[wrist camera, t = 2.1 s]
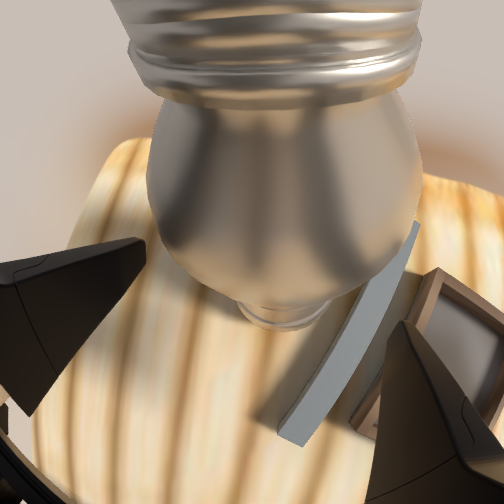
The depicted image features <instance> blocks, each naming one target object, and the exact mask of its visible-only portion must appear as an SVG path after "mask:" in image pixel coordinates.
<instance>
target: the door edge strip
mask: <svg viewBox="0 0 504 504" xmlns="http://www.w3.org/2000/svg"><path fill="white" fill-rule="evenodd" d="M419 227H420V223H418V222H416V221H415V220H414V222H413V225H412V228H411V232H410V234H409V236H408V237H407V239H406V241H405V242H404V244H403V246H402V248H401V249H400V251H399V253H398V254H397V255H396V256H395V257H394V258H393V260H392V261H391V262H390V263H389V264H388V265H387V266H386V267H385V268H384V269H383V270H382V271H381V272H380V273H379V274H378V275H376V276H375V277H373V278H372V279H370V280H369V281H367V282H365V283H364V284H363V286H362V288H361V290H360V292H359V294H358V296H357V298H356V300H355V302H354V304H353V306H352V308H351V310H350V312H349V314H348V316H347V317H346V319H345V321H344V323H343V325H342V327H341V328H340V330H339V332H338V334H337V336H336V337H335V339H334V341H333V343H332V344H331V346H330V348H329V349H328V351H327V353H326V354H325V356H324V358H323V359H322V361H321V363H320V364H319V366H318V368H317V369H316V371H315V372H314V374H313V376H312V377H311V379H310V380H309V382H308V383H307V385H306V386H305V388H304V389H303V391H302V392H301V394H300V395H299V397H298V398H297V400H296V401H295V403H294V404H293V406H292V407H291V409H290V410H289V411H288V413H287V414H286V416H285V417H284V418H283V420H282V421H281V423H280V424H279V425H278V430H277V435H279V436H281V437H283V438H284V439H286V440H288V441H290V442H292V443H294V444H296V445H299V446H301V447H303V446H304V445H305V444H306V443H307V441H308V440H309V439H310V437H311V436H312V435H313V433H314V432H315V431H316V429H317V428H318V426H319V425H320V424H321V422H322V421H323V419H324V418H325V417H326V415H327V414H328V412H329V411H330V409H331V408H332V406H333V405H334V403H335V402H336V400H337V399H338V397H339V396H340V394H341V392H342V391H343V389H344V388H345V386H346V384H347V383H348V381H349V379H350V378H351V376H352V374H353V373H354V371H355V369H356V368H357V366H358V364H359V362H360V361H361V359H362V357H363V355H364V354H365V352H366V350H367V348H368V346H369V344H370V342H371V341H372V339H373V337H374V335H375V333H376V331H377V329H378V327H379V325H380V323H381V321H382V319H383V317H384V315H385V312H386V310H387V308H388V306H389V304H390V302H391V299H392V297H393V295H394V293H395V290H396V288H397V286H398V283H399V281H400V279H401V276H402V274H403V271H404V269H405V266H406V264H407V261H408V258H409V256H410V253H411V250H412V248H413V245H414V242H415V239H416V236H417V233H418V230H419Z"/></svg>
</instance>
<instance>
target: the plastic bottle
mask: <svg viewBox="0 0 504 504" xmlns="http://www.w3.org/2000/svg"><path fill="white" fill-rule="evenodd" d="M111 2H112V4H113V6H114V8H115V10H116V12H117V13H118V16H119V18H120V20H121V22H122V24H123V26H124V28H125V30H126V32H127V34H128V36H129V38H130V41H129V47H128V54H129V57H130V59H131V61H132V63H133V65H134V67H135V69H136V70H137V72H138V74H139V76H140V78H141V80H142V82H143V83H144V85H145V86H146V87H148V88H149V89H150V90H151V91H152V92H154V93H155V94H156V95H158V96H161V97H163V98H165V100H164V102H163V105H162V107H161V110H160V112H159V115H158V118H157V120H156V124H155V126H154V131H153V136H152V142H151V147H150V153H149V159H148V166H147V172H146V184H147V194H148V200H149V204H150V207H151V211H152V214H153V218H154V221H155V224H156V227H157V229H158V232H159V234H160V237H161V239H162V242H163V244H164V245H165V247H166V248H167V249H168V251H169V252H170V254H171V255H172V256H173V258H174V259H175V261H176V262H177V263H178V264H179V265H180V266H181V267H182V268H183V269H185V270H186V271H187V272H188V273H189V274H190V275H191V276H193V277H194V278H195V279H196V280H197V281H199V282H200V283H202V284H204V285H206V286H208V287H210V288H212V289H214V290H215V291H217V292H219V293H221V294H223V295H225V296H227V297H229V298H231V299H233V300H236V303H237V305H238V306H239V308H240V310H241V311H242V313H243V314H244V315H245V316H246V318H248V319H249V320H250V321H251V322H253V323H254V324H255V325H257V326H259V327H261V328H263V329H266V330H270V331H274V332H290V331H296V330H299V329H302V328H305V327H307V326H309V325H311V324H312V323H314V322H315V321H317V320H318V319H319V318H320V317H321V316H322V315H323V314H324V313H325V312H326V310H327V309H328V308H329V306H330V304H331V302H332V300H333V299H334V298H337V297H340V296H343V295H344V294H346V293H348V292H350V291H353V290H354V289H356V288H358V287H359V286H361V285H362V284H364V283H365V282H367V281H369V280H370V279H372V278H373V277H375V276H376V275H378V274H379V273H380V272H381V271H382V270H383V269H384V268H385V267H386V266H387V265H388V264H389V263H390V262H391V261H392V260H393V258H394V257H395V256H396V255H397V254H398V253H399V251H400V249H401V248H402V246H403V244H404V242H405V241H406V239H407V237H408V236H409V234H410V232H411V228H412V225H413V222H414V218H415V215H416V211H417V207H418V204H419V200H420V196H421V192H422V187H423V164H422V160H421V156H420V151H419V147H418V144H417V140H416V136H415V133H414V129H413V126H412V123H411V119H410V116H409V114H408V112H407V109H406V107H405V105H404V103H403V101H402V99H401V98H400V96H399V94H398V92H397V90H396V88H397V87H399V86H401V85H403V84H404V83H405V82H406V81H407V80H408V78H409V77H410V76H411V75H412V74H413V71H414V68H415V64H416V61H417V57H418V54H419V51H420V46H421V41H422V37H421V35H420V32H419V29H418V28H417V23H418V19H419V14H420V10H421V4H422V0H111Z"/></svg>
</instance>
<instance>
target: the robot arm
mask: <svg viewBox="0 0 504 504" xmlns="http://www.w3.org/2000/svg"><path fill="white" fill-rule="evenodd" d="M145 264H146V244H145V241H144V240H143V239H140V238H137V237H131V238H126V239H120V240H115V241H110V242H105V243H99V244H94V245H89V246H84V247H79V248H74V249H70V250H65V251H61V252H55V253H51V254H46V255H41V256H37V257H32V258H27V259H21V260H15V261H9V262H3V263H0V504H20V502H21V501H22V500H24V501H25V502H26V503H27V504H77V503H75V502H74V501H73V500H71V499H70V498H69V497H68V496H67V495H65V494H64V493H63V492H62V491H61V490H59V489H58V488H57V487H56V486H55V485H54V484H53V483H52V482H50V481H49V480H48V479H47V478H46V477H45V476H44V475H43V474H42V473H41V472H40V471H39V470H38V469H37V468H36V467H35V466H34V465H33V464H32V463H31V462H30V461H29V460H28V459H27V458H26V457H25V456H24V455H23V454H22V453H21V452H20V450H19V449H18V448H17V447H16V446H15V445H14V443H13V442H12V441H11V440H10V439H9V437H8V436H7V435H8V406H7V405H6V404H5V403H4V402H5V401H6V400H7V399H8V398H9V397H11V398H12V399H13V400H14V401H15V402H16V403H17V405H18V406H19V407H20V408H21V409H22V410H23V411H24V412H25V413H26V415H27V416H28V417H30V416H31V415H32V414H33V413H34V411H35V410H36V408H37V407H38V405H39V404H40V402H41V401H42V399H43V398H44V397H45V395H46V394H47V392H48V391H49V389H50V388H51V387H52V385H53V384H54V382H55V381H56V380H57V378H58V376H59V375H60V374H61V373H62V371H63V370H64V369H65V367H66V366H67V365H68V363H69V362H70V361H71V359H72V358H73V357H74V355H75V354H76V353H77V352H78V350H79V349H80V348H81V346H82V345H83V344H84V343H85V341H86V340H87V339H88V338H89V336H90V335H91V334H92V333H93V331H94V330H95V329H96V328H97V326H98V325H99V324H100V323H101V322H102V320H103V319H104V318H105V317H106V316H107V314H108V313H109V312H110V311H111V310H112V308H113V307H114V306H115V305H116V304H117V302H118V301H119V300H120V299H121V298H122V296H123V295H124V294H125V293H126V291H127V290H128V288H129V287H130V286H131V284H132V283H133V281H134V280H135V278H136V277H137V276H138V274H139V273H140V272H141V270H142V269H143V267H144V266H145ZM364 504H504V448H503V447H502V446H501V444H500V443H499V441H498V440H497V438H496V437H495V436H494V434H493V433H492V432H491V430H490V429H489V427H488V426H487V425H486V423H485V422H484V420H483V419H482V418H481V416H480V415H479V414H478V412H477V411H476V409H475V408H474V406H473V405H472V403H471V402H470V400H469V399H468V397H467V396H465V393H464V391H463V390H462V388H461V387H460V385H459V384H458V383H457V381H456V380H455V378H454V377H453V376H452V374H451V373H450V371H449V370H448V369H447V367H446V366H445V364H444V363H443V362H442V360H441V359H440V358H439V356H438V355H437V354H436V352H435V351H434V350H433V348H432V347H431V346H430V345H429V343H428V342H427V341H426V339H425V338H424V337H423V336H422V334H421V333H420V332H419V330H418V329H417V328H416V327H415V325H414V324H413V323H412V322H410V321H406V320H400V321H399V322H398V324H397V325H396V327H395V329H394V330H393V332H392V334H391V335H390V337H389V339H388V342H387V347H386V355H385V362H384V369H383V375H382V382H381V394H380V407H379V418H378V427H377V436H376V443H375V450H374V457H373V463H372V469H371V474H370V479H369V484H368V489H367V494H366V498H365V503H364Z"/></svg>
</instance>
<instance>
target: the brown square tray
mask: <svg viewBox="0 0 504 504" xmlns="http://www.w3.org/2000/svg"><path fill="white" fill-rule="evenodd" d="M406 321H410V322H412V323H413V324H414V325H415V327H416V328H417V329H418V330H419V332H420V333H421V334H422V336H423V337H424V338H425V339H426V341H427V342H428V343H429V345H430V346H431V347H432V348H433V350H434V351H435V352H436V354H437V355H438V356H439V358H440V359H441V360H442V362H443V363H444V364H445V366H446V367H447V369H448V370H449V371H450V373H451V374H452V376H453V377H454V378H455V380H456V381H457V383H458V384H459V385H460V387H461V388H462V390H463V391H464V393H465V396H467V397H468V399H469V400H470V402H471V403H472V405H473V406H474V408H475V409H476V411H477V412H478V414H479V415H480V416H481V418H482V419H483V420H484V422H485V423H486V425H487V426H488V427H489V429H490V430H491V432H492V430H493V428H494V426H495V424H496V422H497V420H498V418H499V416H500V414H501V411H502V409H503V407H504V313H502V312H501V311H500V310H498V309H497V308H496V307H494V306H493V305H492V304H490V303H489V302H488V301H486V300H485V299H484V298H482V297H481V296H480V295H478V294H477V293H475V292H474V291H473V290H471V289H470V288H468V287H467V286H465V285H464V284H463V283H461V282H460V281H458V280H457V279H455V278H454V277H452V276H451V275H449V274H448V273H446V272H445V271H443V270H442V269H440V268H439V267H437V268H436V269H434V270H432V271H431V272H429V273H427V274H425V275H424V276H423V278H422V281H421V284H420V286H419V289H418V291H417V294H416V296H415V299H414V301H413V304H412V306H411V308H410V311H409V313H408V315H407V318H406ZM383 369H384V364H383V366H382V368H381V370H380V371H379V373H378V375H377V377H376V378H375V380H374V382H373V384H372V385H371V387H370V389H369V390H368V392H367V394H366V395H365V397H364V398H363V400H362V402H361V403H360V405H359V406H358V408H357V409H356V411H355V412H354V414H353V415H352V417H351V418H350V420H349V421H348V422H349V424H350V425H351V426H352V427H353V429H354V430H355V431H356V432H358V433H360V434H362V435H365V436H367V437H369V438H372V439H374V440H376V436H377V427H378V418H379V407H380V394H381V382H382V375H383Z"/></svg>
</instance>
